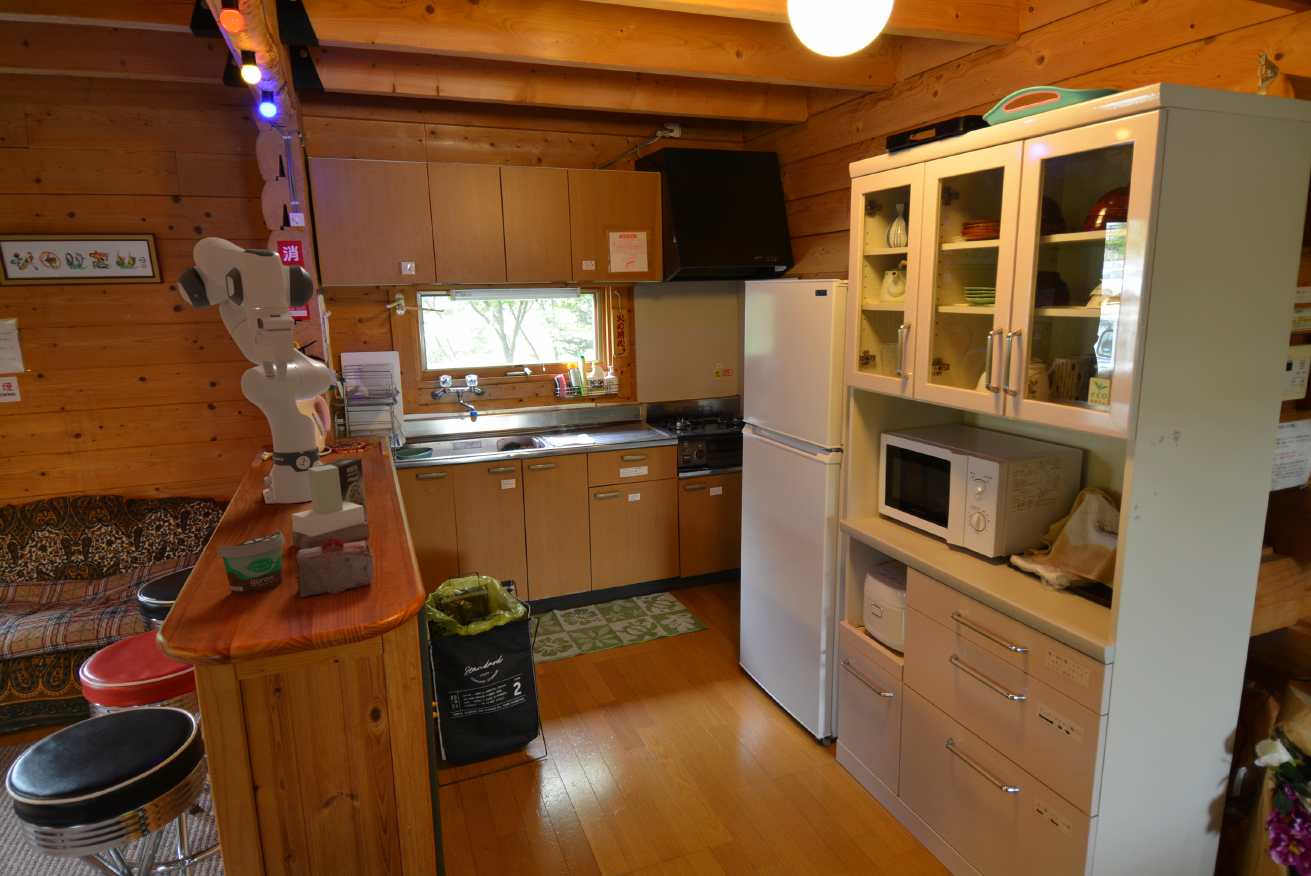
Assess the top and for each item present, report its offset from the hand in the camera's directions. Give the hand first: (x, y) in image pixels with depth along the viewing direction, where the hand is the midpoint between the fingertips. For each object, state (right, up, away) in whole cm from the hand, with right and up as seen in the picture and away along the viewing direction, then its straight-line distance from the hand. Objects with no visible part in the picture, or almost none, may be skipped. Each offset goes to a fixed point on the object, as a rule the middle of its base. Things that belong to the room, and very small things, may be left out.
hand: (276, 381), depth 174 cm
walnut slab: (+13, -38, 0) cm, 40 cm away
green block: (+13, -30, -1) cm, 33 cm away
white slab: (+13, -34, 0) cm, 36 cm away
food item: (+27, -43, -29) cm, 58 cm away
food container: (+12, -43, -28) cm, 53 cm away
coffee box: (+11, -35, +13) cm, 39 cm away
